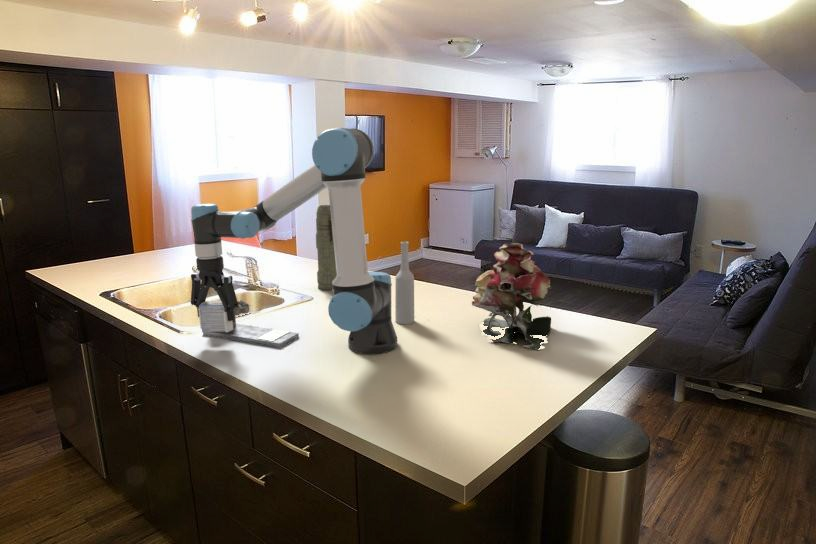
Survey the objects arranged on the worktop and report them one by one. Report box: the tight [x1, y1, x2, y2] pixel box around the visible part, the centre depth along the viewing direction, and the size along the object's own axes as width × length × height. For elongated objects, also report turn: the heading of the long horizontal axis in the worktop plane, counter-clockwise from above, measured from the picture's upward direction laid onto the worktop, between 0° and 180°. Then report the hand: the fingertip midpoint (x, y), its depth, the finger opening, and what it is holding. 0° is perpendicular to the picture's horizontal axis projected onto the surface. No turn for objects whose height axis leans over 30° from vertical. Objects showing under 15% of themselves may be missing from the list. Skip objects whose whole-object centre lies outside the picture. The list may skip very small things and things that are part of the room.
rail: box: [202, 298, 300, 349], centre depth 180 cm, size 30×10×10 cm, turn 67°
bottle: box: [394, 241, 415, 325], centre depth 192 cm, size 7×7×28 cm
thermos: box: [315, 204, 337, 291], centre depth 235 cm, size 9×12×35 cm
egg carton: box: [235, 299, 252, 316], centre depth 205 cm, size 11×8×4 cm
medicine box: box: [199, 300, 229, 333], centre depth 170 cm, size 8×4×9 cm, turn 91°
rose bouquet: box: [471, 242, 553, 350], centre depth 180 cm, size 26×29×30 cm
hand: (216, 329), depth 171 cm, fingers closed on medicine box, 9 cm apart
